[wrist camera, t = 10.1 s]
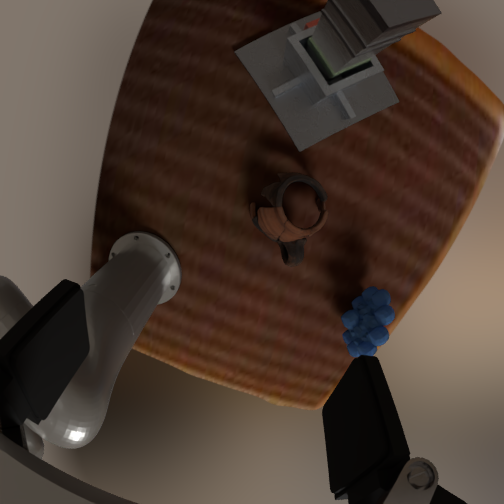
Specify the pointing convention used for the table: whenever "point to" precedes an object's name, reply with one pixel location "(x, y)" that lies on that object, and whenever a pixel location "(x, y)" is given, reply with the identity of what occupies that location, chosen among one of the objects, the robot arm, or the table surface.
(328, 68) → the column
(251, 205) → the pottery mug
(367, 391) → the robot arm
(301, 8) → the table surface
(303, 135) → the stand base
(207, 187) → the table surface
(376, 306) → the blue lumpy cluster
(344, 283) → the table surface
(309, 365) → the table surface
